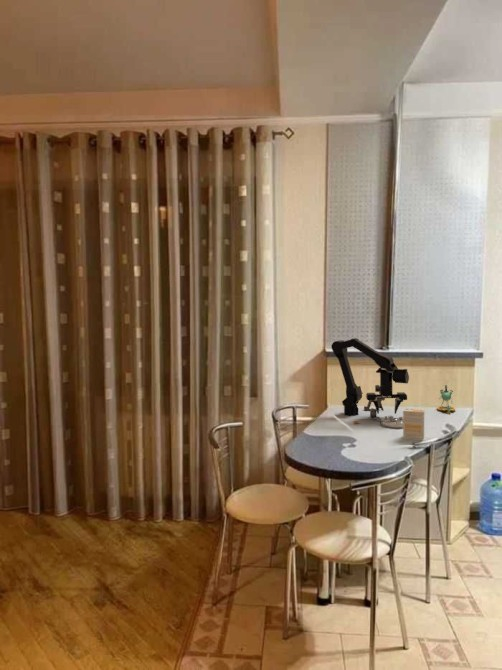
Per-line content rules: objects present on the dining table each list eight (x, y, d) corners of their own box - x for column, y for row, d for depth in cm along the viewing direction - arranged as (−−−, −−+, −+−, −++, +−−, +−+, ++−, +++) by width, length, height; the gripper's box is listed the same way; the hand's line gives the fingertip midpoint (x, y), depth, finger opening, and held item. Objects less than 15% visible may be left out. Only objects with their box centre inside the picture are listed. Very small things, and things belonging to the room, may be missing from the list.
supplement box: (424, 440, 215) (425, 409, 214) (423, 443, 211) (423, 412, 210) (404, 437, 219) (404, 408, 218) (402, 440, 214) (403, 410, 213)
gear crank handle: (413, 425, 234) (413, 416, 234) (395, 429, 227) (396, 420, 227) (379, 417, 251) (379, 408, 251) (362, 420, 244) (362, 411, 244)
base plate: (359, 434, 224) (359, 430, 224) (350, 421, 248) (350, 417, 248) (428, 434, 223) (428, 430, 223) (413, 421, 247) (413, 417, 247)
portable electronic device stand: (363, 410, 272) (363, 394, 271) (375, 408, 275) (375, 393, 275) (375, 413, 264) (375, 397, 263) (386, 411, 268) (386, 396, 267)
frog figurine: (434, 413, 263) (434, 385, 263) (437, 410, 279) (438, 383, 279) (453, 415, 258) (454, 386, 259) (456, 411, 274) (457, 384, 275)
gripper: (402, 379, 253) (402, 409, 254) (364, 379, 255) (364, 410, 256) (407, 382, 242) (407, 415, 243) (367, 383, 244) (367, 415, 245)
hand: (386, 413), depth 247 cm, fingers open, 8 cm apart
